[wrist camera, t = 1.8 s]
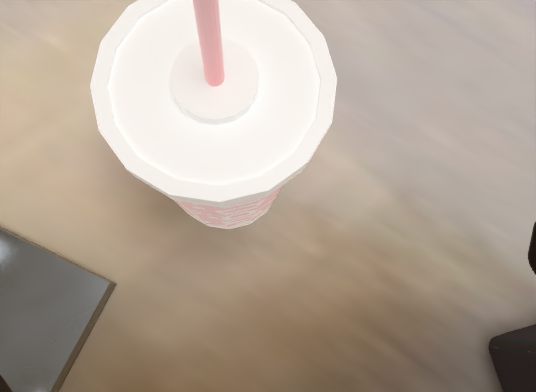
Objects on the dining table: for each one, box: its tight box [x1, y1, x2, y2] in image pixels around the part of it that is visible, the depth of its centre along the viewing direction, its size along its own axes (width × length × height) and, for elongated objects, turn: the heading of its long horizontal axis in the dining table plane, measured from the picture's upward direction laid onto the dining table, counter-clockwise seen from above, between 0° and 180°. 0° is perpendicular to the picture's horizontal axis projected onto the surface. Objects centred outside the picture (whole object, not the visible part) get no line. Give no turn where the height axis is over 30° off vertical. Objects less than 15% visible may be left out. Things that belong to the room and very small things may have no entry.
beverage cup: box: [90, 0, 337, 229], centre depth 14 cm, size 6×6×14 cm
